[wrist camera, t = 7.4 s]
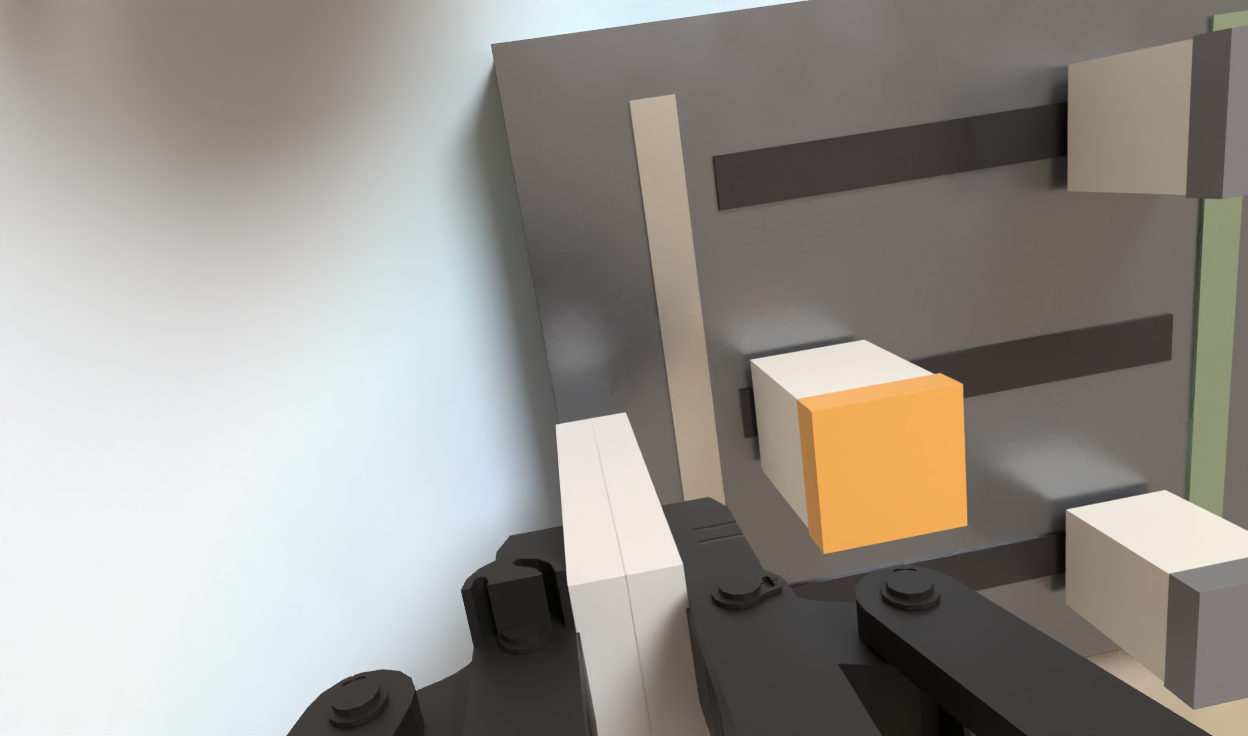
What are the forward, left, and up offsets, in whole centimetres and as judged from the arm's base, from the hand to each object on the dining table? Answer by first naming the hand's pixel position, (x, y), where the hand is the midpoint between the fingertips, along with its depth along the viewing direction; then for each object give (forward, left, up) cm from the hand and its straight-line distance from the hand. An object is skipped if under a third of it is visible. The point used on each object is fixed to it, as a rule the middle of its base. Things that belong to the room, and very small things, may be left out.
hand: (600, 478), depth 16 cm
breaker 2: (+13, -5, -2) cm, 15 cm away
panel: (+10, 0, -4) cm, 11 cm away
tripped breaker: (+5, 0, -2) cm, 6 cm away
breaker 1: (+13, +6, -2) cm, 15 cm away
